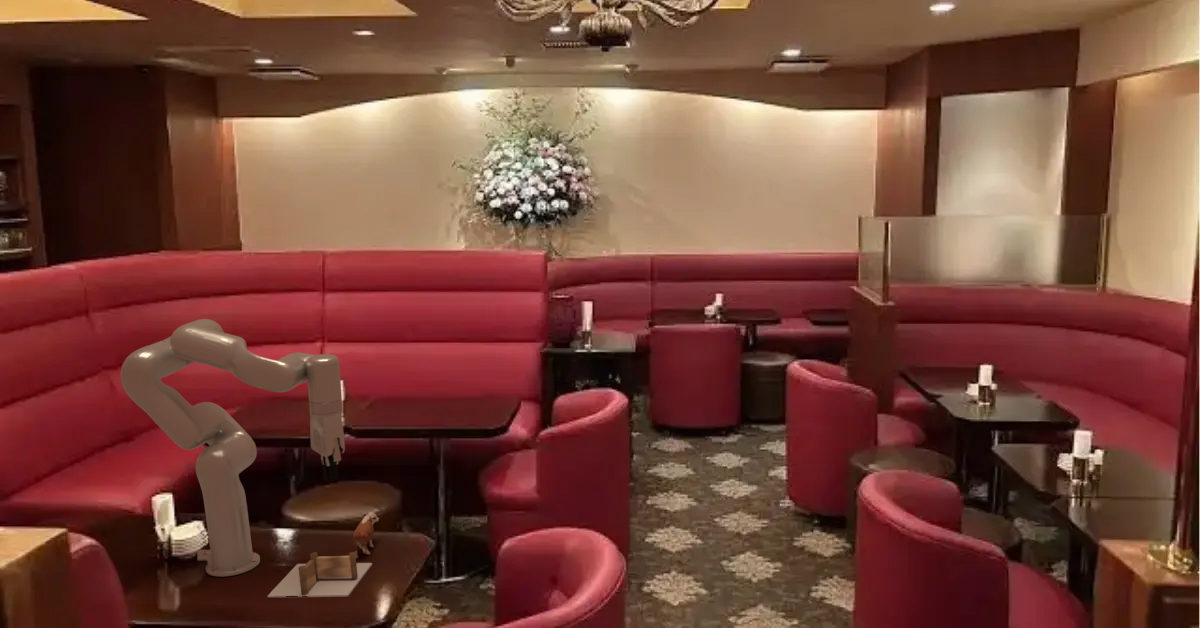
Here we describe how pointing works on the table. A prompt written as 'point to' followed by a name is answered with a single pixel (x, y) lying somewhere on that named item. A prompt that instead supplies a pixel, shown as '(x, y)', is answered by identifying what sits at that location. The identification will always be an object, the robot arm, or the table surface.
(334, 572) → the fence panel
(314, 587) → the card
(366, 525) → the bull figurine
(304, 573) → the fixed fence section
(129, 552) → the table surface
